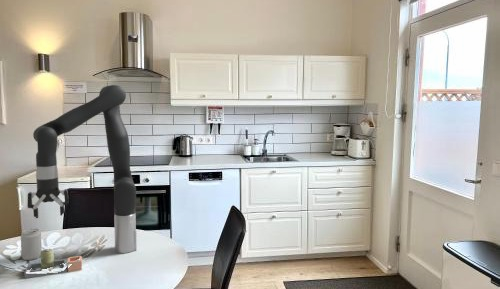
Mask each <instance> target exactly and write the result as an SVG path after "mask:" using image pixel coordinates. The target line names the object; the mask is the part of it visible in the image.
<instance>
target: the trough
mask: <svg viewBox="0 0 500 289" xmlns="http://www.w3.org/2000/svg"><path fill="white" fill-rule="evenodd" d="M67 262H68V258H63V259H54V267H57V266H56V265H59V266H61V265H60V264H62V263H64V264H65V263H67ZM31 268H32V269H31ZM26 269H27V270H30V269H31V270H38V269H41V261H40V262H32V263H27V266H26ZM26 269H25V270H26ZM67 272H68V268H67V269H65V270H64V271H61V272H58V273H47V274H26V273H25V272H24V279H29V278H36V277H42V276H50V275H56V274H65V273H67Z"/></svg>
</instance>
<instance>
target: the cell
mask: <svg viewBox="0 0 500 289" xmlns="http://www.w3.org/2000/svg"><path fill="white" fill-rule="evenodd" d="M40 254H41V256H40V262H41V268H40V270H41V269H47V268H50V267H54V268H55V266H54V260H55V258H54V256H55V255H54V249H53V248H46V249H42V251H41V252H40Z"/></svg>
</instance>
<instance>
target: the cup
mask: <svg viewBox="0 0 500 289" xmlns="http://www.w3.org/2000/svg"><path fill="white" fill-rule="evenodd" d="M82 257H83V256H81V255H77V256H70V257H68V258H67V259H68V264H72V265H71V266H70V267H69V268H68V267H67V272H69V273H71V272H78V271H79V272H80V271H81V270H83V268H82V266H83V258H82ZM79 258H80V260H77V259H79ZM75 260H77V261H75Z"/></svg>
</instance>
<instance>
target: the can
mask: <svg viewBox="0 0 500 289" xmlns="http://www.w3.org/2000/svg"><path fill="white" fill-rule="evenodd" d="M20 246H21V247H20V249H21V252H20V253H21V258H22V260H24V261H34V260H37V259H39V258H41V254H40V252H41V251H42V250H43V248H42V232H41V231H40V229H39V228H28V229H25V230H22V232H21V235H20Z"/></svg>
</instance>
